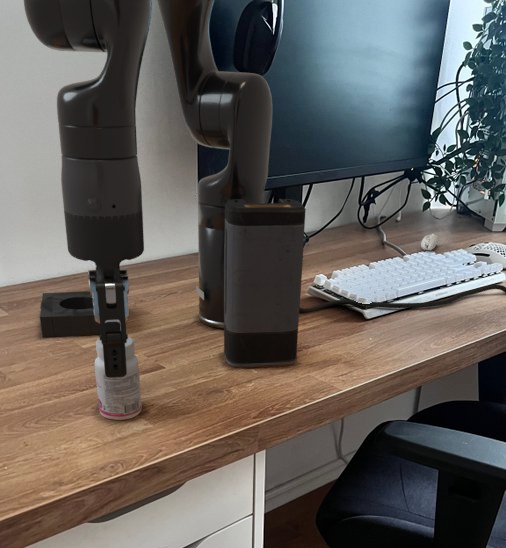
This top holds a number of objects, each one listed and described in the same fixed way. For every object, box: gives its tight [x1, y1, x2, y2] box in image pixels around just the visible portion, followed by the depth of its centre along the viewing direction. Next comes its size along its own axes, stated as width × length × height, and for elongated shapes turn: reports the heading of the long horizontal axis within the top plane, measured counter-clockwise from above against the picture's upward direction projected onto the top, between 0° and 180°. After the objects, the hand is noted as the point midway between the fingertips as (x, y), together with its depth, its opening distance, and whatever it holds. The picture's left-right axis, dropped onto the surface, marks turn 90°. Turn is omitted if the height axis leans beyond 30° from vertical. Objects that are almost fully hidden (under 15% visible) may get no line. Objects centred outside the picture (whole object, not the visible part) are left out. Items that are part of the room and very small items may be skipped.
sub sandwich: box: [420, 233, 439, 251], centre depth 147 cm, size 3×8×3 cm, turn 157°
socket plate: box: [39, 290, 101, 338], centre depth 102 cm, size 11×11×3 cm
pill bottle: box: [94, 336, 143, 421], centre depth 76 cm, size 5×5×8 cm
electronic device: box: [223, 198, 307, 369], centre depth 87 cm, size 9×6×20 cm, turn 100°
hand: (114, 360), depth 75 cm, fingers open, 8 cm apart
